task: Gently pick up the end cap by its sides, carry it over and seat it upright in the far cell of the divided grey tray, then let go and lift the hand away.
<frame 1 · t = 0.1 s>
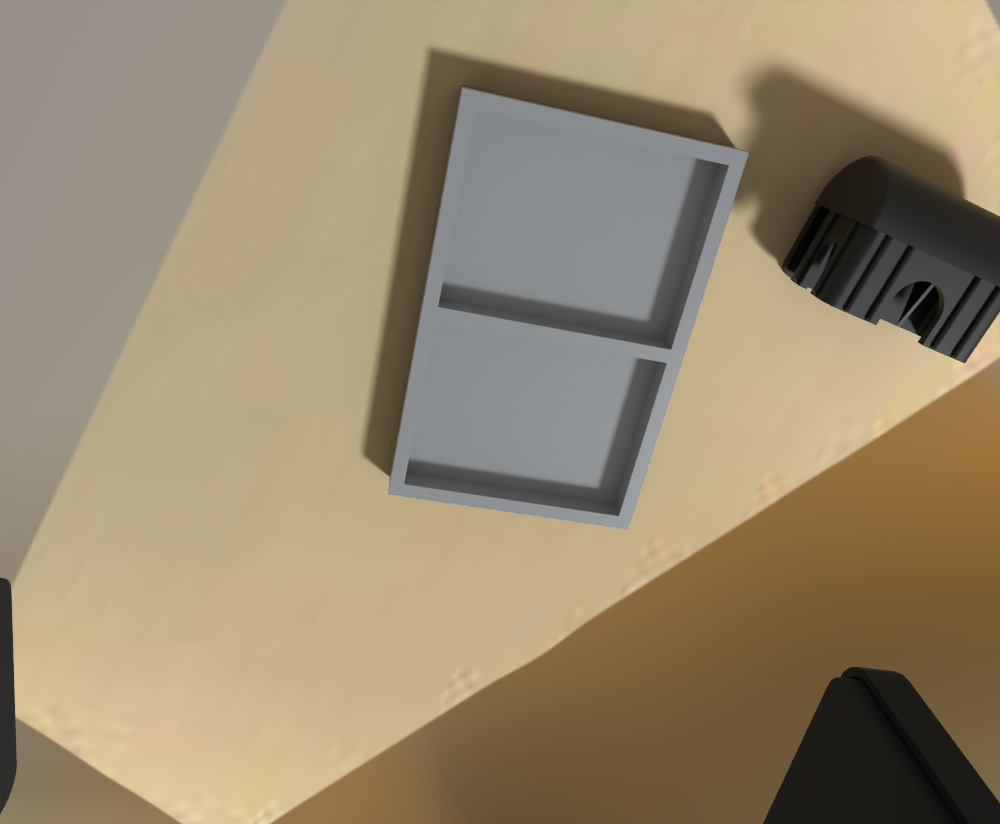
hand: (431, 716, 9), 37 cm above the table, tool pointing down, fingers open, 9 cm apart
end cap: (876, 241, 46), on the table
divided grey tray: (550, 324, 46), on the table
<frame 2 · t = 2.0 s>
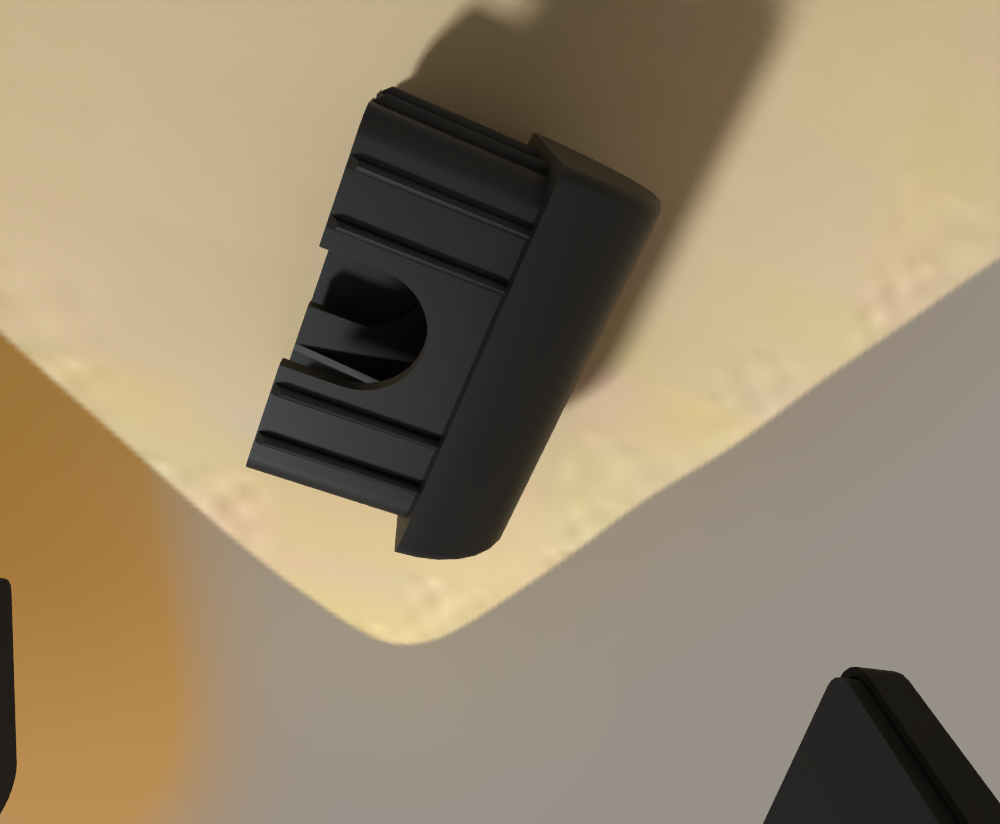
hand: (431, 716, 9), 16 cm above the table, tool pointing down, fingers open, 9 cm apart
end cap: (448, 284, 25), on the table
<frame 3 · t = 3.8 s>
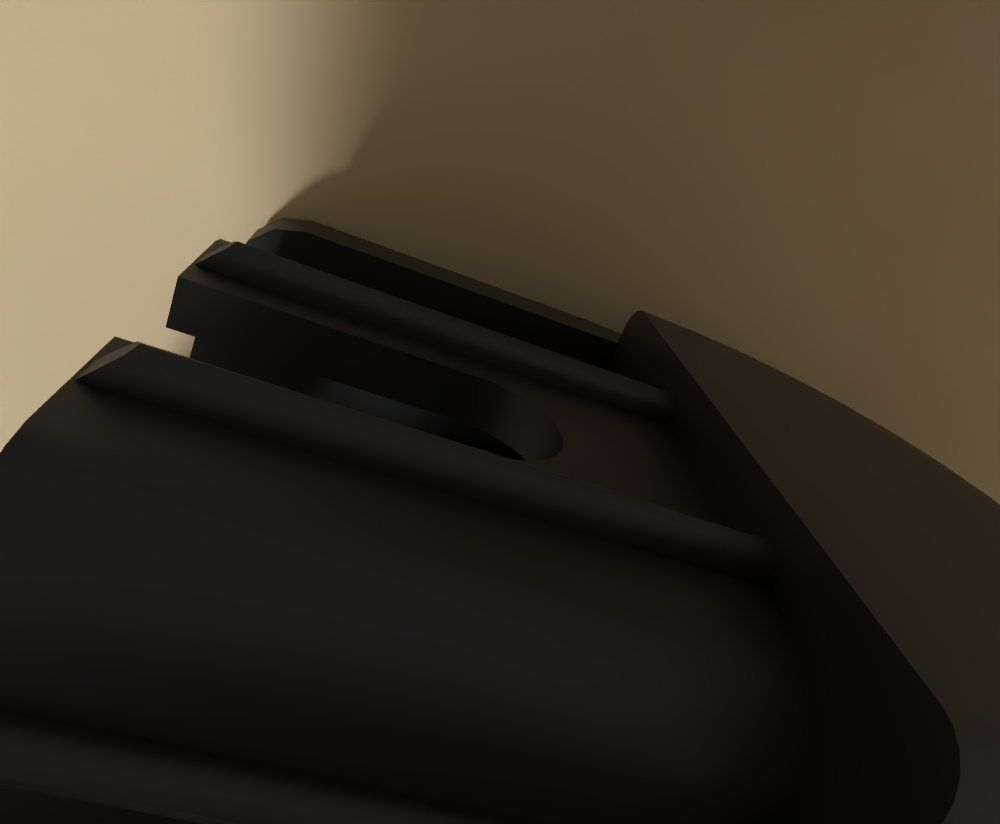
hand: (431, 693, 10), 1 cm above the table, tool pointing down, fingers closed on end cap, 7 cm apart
end cap: (435, 605, 11), on the table, touching gripper
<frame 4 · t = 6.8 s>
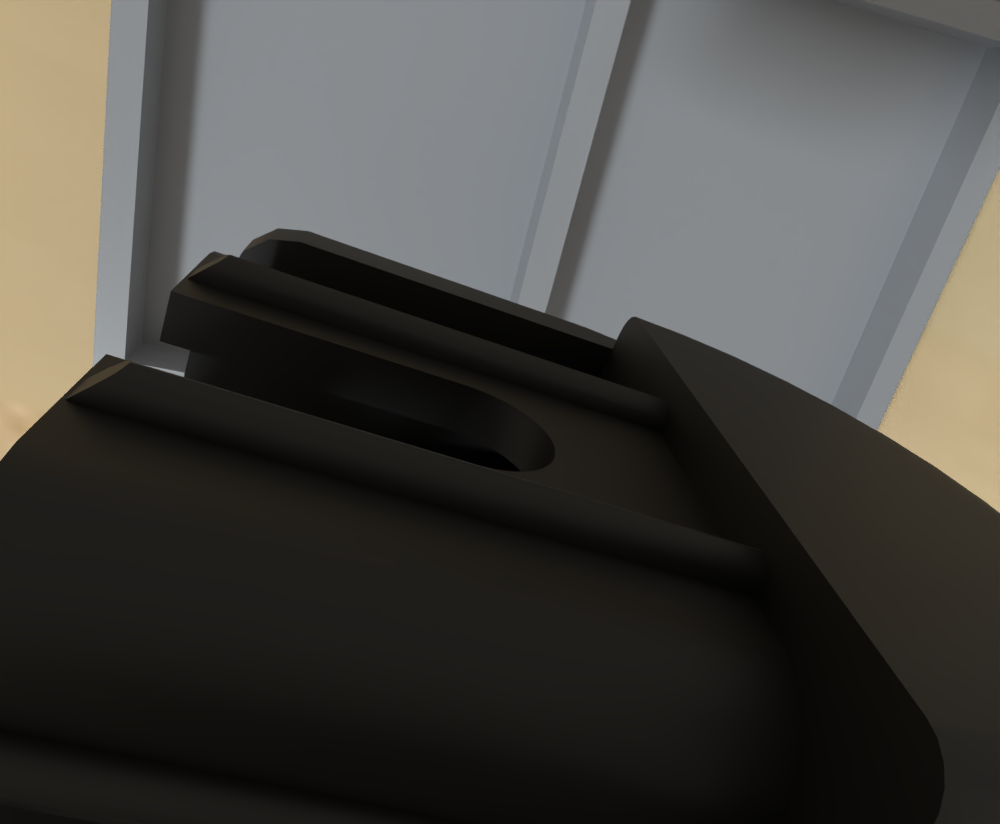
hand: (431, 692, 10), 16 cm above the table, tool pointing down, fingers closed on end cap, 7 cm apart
end cap: (434, 611, 11), point 14 cm above the table, touching gripper
divided grey tray: (547, 197, 23), on the table
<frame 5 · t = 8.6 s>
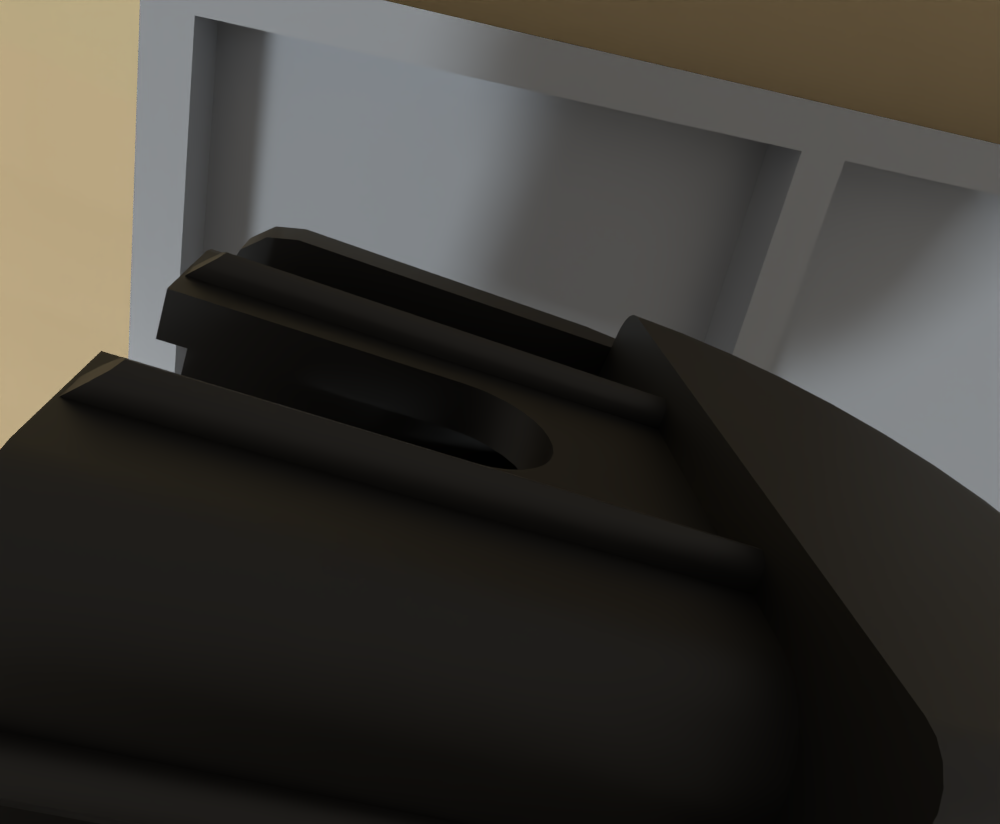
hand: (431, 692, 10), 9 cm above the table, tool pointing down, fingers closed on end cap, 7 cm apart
end cap: (433, 610, 11), point 7 cm above the table, touching gripper
divided grey tray: (680, 440, 18), on the table
when the fingers open (4 cm above the table, at t = 10.1 s): end cap drops 2 cm, resting on divided grey tray.
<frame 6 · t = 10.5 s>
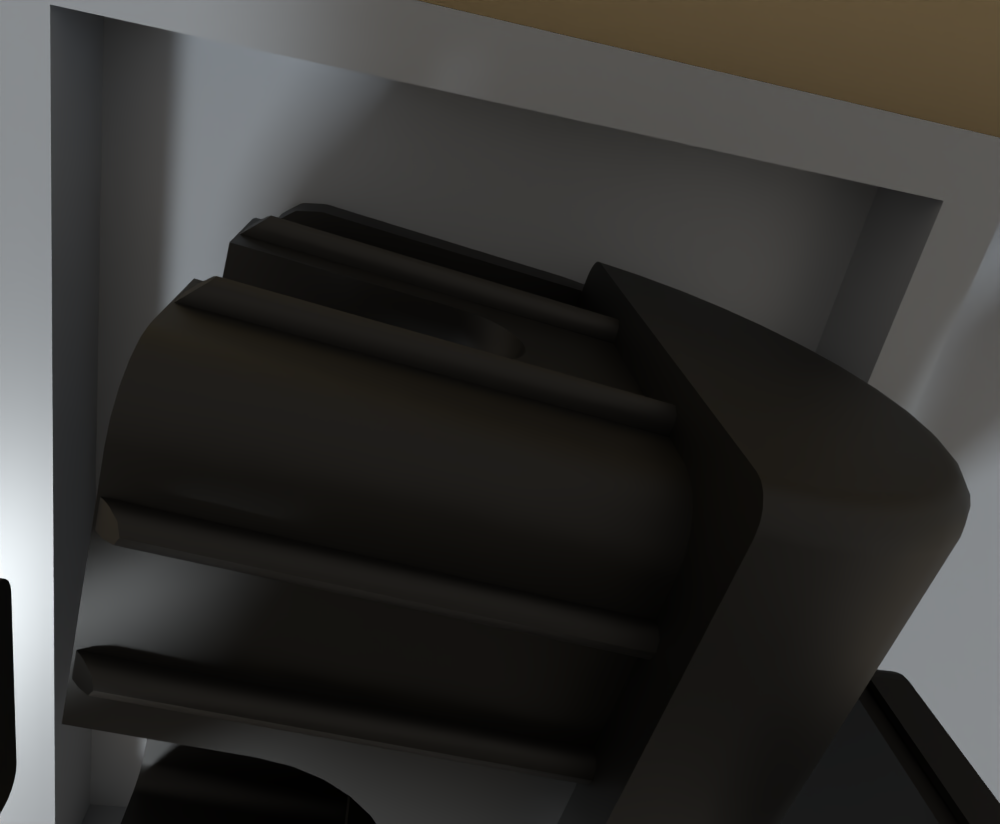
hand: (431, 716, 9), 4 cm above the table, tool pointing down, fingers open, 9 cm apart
end cap: (446, 531, 13), resting on divided grey tray
divided grey tray: (741, 561, 14), on the table
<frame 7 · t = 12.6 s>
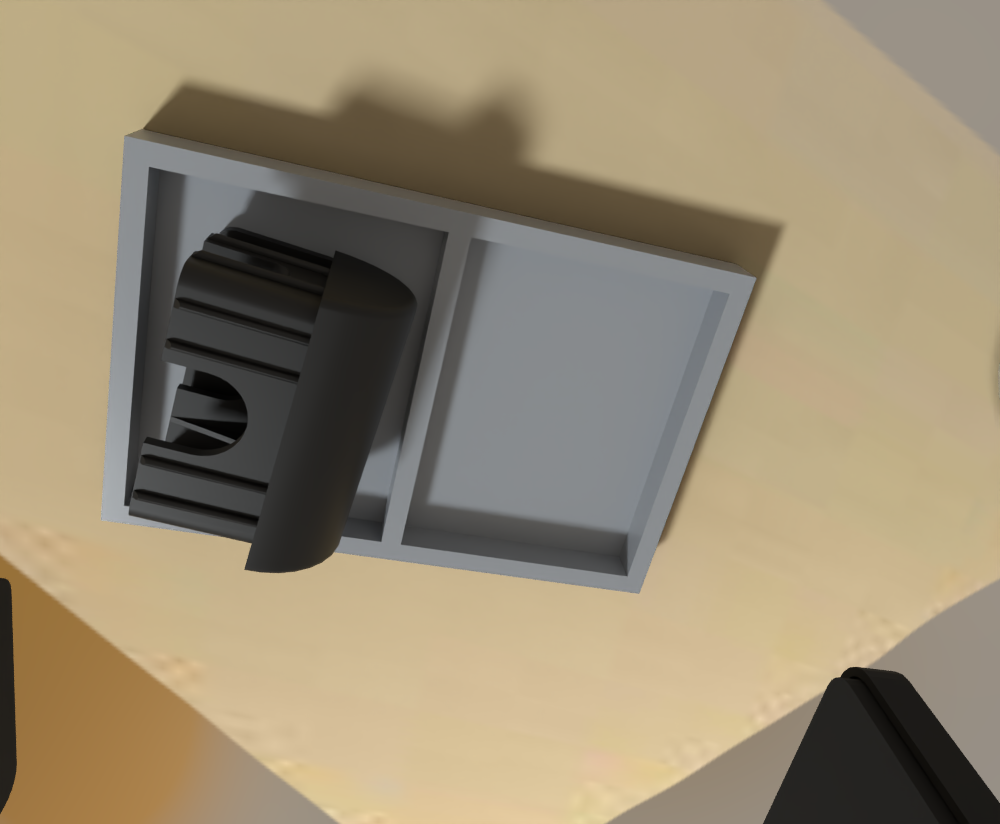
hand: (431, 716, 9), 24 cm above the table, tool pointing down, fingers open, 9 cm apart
end cap: (290, 360, 32), resting on divided grey tray
divided grey tray: (421, 381, 33), on the table
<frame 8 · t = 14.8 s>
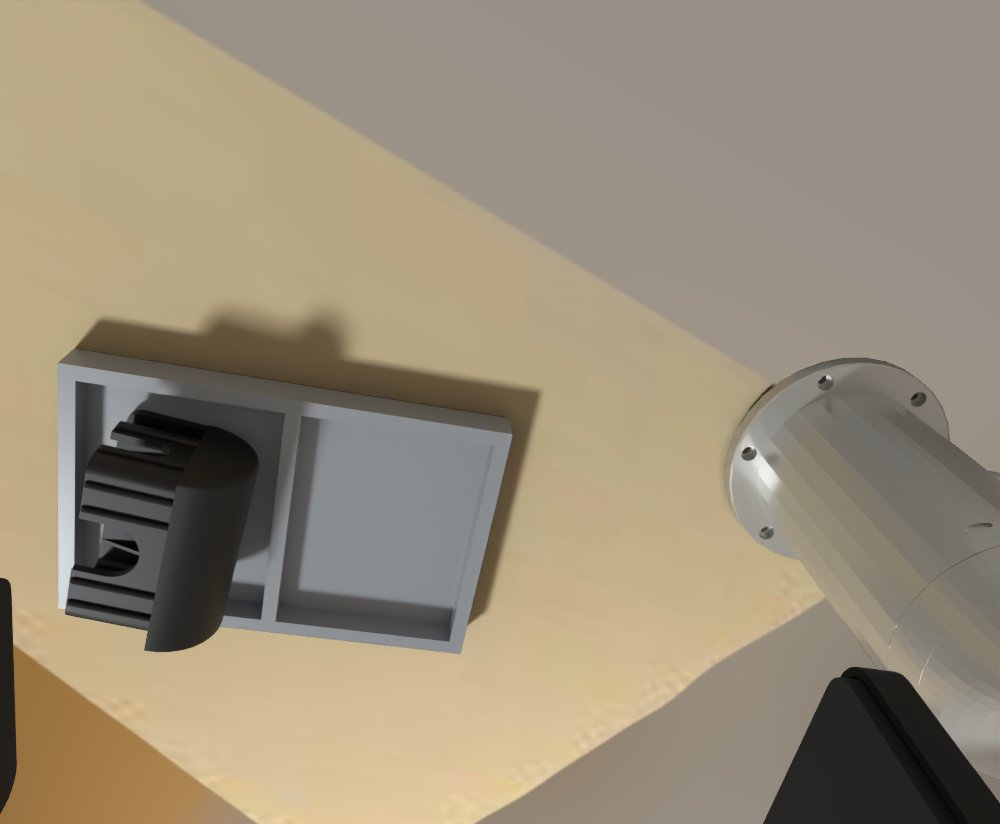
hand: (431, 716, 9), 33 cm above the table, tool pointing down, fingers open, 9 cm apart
end cap: (188, 494, 45), resting on divided grey tray
divided grey tray: (285, 504, 46), on the table
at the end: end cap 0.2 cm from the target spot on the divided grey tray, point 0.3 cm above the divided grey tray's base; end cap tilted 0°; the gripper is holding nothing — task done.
